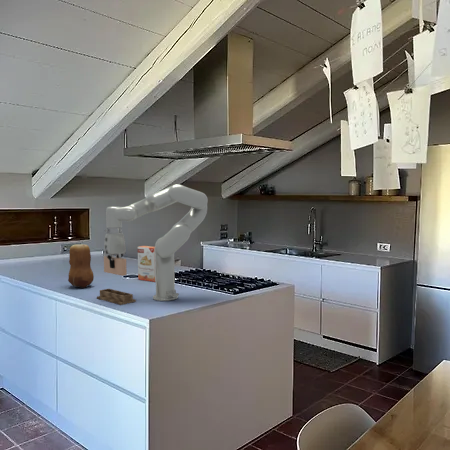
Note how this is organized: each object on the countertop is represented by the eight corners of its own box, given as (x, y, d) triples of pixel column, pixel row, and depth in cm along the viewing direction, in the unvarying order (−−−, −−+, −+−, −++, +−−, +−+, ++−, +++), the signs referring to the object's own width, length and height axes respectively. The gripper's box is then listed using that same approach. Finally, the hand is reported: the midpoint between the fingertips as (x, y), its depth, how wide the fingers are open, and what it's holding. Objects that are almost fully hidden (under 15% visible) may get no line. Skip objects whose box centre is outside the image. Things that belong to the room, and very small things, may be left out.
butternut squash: (87, 283, 275) (86, 242, 273) (97, 287, 265) (96, 244, 263) (64, 287, 266) (63, 244, 264) (74, 290, 256) (72, 246, 254)
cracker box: (137, 279, 287) (137, 246, 285) (144, 278, 292) (143, 245, 290) (154, 282, 279) (153, 247, 277) (161, 280, 284) (160, 246, 282)
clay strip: (126, 275, 228) (126, 258, 227) (122, 275, 226) (122, 259, 226) (108, 271, 239) (107, 255, 238) (104, 271, 237) (103, 256, 236)
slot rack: (135, 301, 230) (135, 293, 229) (120, 305, 223) (120, 296, 223) (111, 295, 244) (111, 287, 243) (96, 298, 237) (96, 290, 237)
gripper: (104, 232, 222) (105, 270, 224) (132, 230, 234) (132, 266, 236) (96, 231, 227) (96, 268, 229) (123, 229, 239) (124, 264, 241)
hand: (115, 267), depth 232 cm, fingers closed on clay strip, 2 cm apart
